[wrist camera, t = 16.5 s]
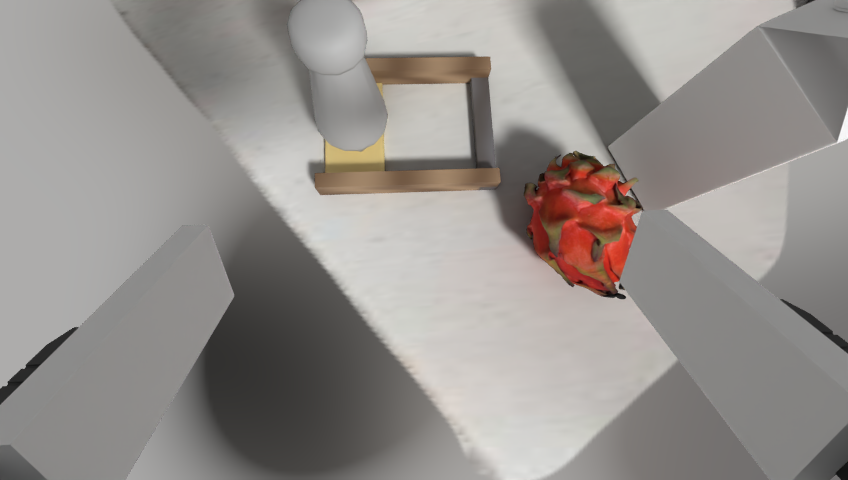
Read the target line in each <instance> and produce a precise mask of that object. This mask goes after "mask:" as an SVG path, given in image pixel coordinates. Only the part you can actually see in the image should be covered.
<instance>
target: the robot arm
mask: <svg viewBox="0 0 848 480" xmlns="http://www.w3.org/2000/svg"><path fill="white" fill-rule="evenodd" d="M812 1H815V0H809V2H808V3H810V2H812ZM619 282H620V283H621V285H622V286H623V287H624V289H625V290H626V291H627V293H628V294H629V295H630V297H631V298H632V299H633V301H634V302H635V303H636V305H637V306H638V307H639V308H640V310H641V311H642V312H643V314H644V315H645V316H646V318H647V319H648V320H649V322H650V323H651V324H652V326H653V327H654V328H655V330H656V331H657V332H658V333H659V335H660V336H661V337H662V339H663V340H664V341H665V343H666V344H667V345H668V347H669V348H670V349H671V351H672V352H673V353H674V355H675V356H676V357H677V358H678V360H679V361H680V362H681V364H682V365H683V366H684V368H685V369H686V370H687V372H688V373H689V374H690V376H691V377H692V378H693V380H694V381H695V382H696V383H697V385H698V386H699V387H700V389H701V390H702V391H703V393H704V394H705V395H706V397H707V398H708V399H709V401H710V402H711V403H712V404H713V406H714V407H715V408H716V410H717V411H718V412H719V414H720V415H721V416H722V418H723V419H724V420H725V422H726V423H727V424H728V426H729V427H730V428H731V430H732V431H733V432H734V433H735V435H736V436H737V437H738V439H739V440H740V441H741V443H742V444H743V445H744V446H745V448H746V449H747V451H748V452H749V453H750V455H751V456H752V457H753V459H754V460H755V461H756V462H757V464H758V465H759V466H760V468H761V469H762V470H763V472H764V473H765V474H766V476H767V477H768V478H769V479H770V480H830V479H831V478H833V477H834V476H835V475H837V476H838V477H839V478H840V479H841V480H848V343H847V342H845V340H843V339H842V338H840V337H839V336H838V335H833V333H832V332H833V331H832V330H830V329H829V328H828V327H826V326H825V325H824V324H823V323H821V322H820V321H818V320H817V319H816V318H815V317H814V316H812V315H811V314H809V313H807V312H806V311H804V310H802V309H800V308H798V307H796V306H794V305H792V304H790V303H788V302H787V301H784V300H783V299H778V298H777V297H776V296H775V295H773V294H772V293H771V292H770V291H768V290H767V289H766V288H765V287H763V286H762V285H761V284H759V283H758V282H757V281H756V280H754V279H753V278H752V277H751V276H749V275H748V274H747V273H746V272H744V271H743V270H742V269H741V268H739V267H738V266H737V265H736V264H734V263H733V262H732V261H731V260H729V259H728V258H727V257H726V256H724V255H723V254H722V253H721V252H719V251H718V250H717V249H716V248H714V247H713V246H712V245H711V244H709V243H708V242H707V241H706V240H704V239H703V238H702V237H700V236H699V235H698V234H697V233H695V232H694V231H693V230H692V229H690V228H689V227H688V226H687V225H685V224H684V223H683V222H682V221H680V220H679V219H678V218H677V217H675V216H674V215H673V214H672V213H670V212H669V211H668V210H647V211H642V213H641V216H640V219H639V223H638V226H637V229H636V232H635V235H634V238H633V241H632V244H631V247H630V250H629V253H628V256H627V259H626V262H625V265H624V269H623V272H622V275H621V278H620V281H619ZM233 297H234V293H233V291H232V288H231V285H230V282H229V280H228V277H227V274H226V272H225V269H224V266H223V263H222V261H221V258H220V255H219V252H218V250H217V247H216V244H215V242H214V240H213V236H212V234H211V231H210V228H209V225H184V226H181V227H180V228H179V229H178V230H177V231H176V232H175V233H174V234H173V235H172V236H171V237H170V238H169V239H168V240H167V241H166V242H165V243H164V244H163V245H162V246H161V247H160V248H159V249H158V250H157V251H156V252H155V253H154V254H153V255H152V256H151V257H150V258H149V259H148V260H147V261H146V262H145V263H144V264H143V265H142V266H141V267H140V268H139V269H138V270H137V271H136V272H135V273H134V274H133V275H132V276H131V277H130V278H129V279H127V280H126V281H125V282H124V283H123V284H122V285H121V286H120V287H119V288H118V289H117V290H116V291H115V292H114V293H113V294H112V295H111V296H110V297H109V298H108V299H107V300H106V301H105V302H104V303H103V304H102V305H101V306H100V307H99V308H98V309H97V310H96V311H95V312H94V313H93V314H92V315H91V316H90V317H89V318H88V319H87V320H86V321H85V322H84V323H83V324H82V325H81V326H80V327H74V328H72V329H71V330H69V331H68V332H66V333H65V334H63V335H61V336H60V337H58V338H57V339H55V340H54V341H52V342H51V343H49V344H47V345H46V346H45V347H44V348H43V349H42V350H41V351H40V352H39V353H38V354H37V355H36V356H35V357H33V358H32V360H30V361H29V362H28V363H27V364H26V368H25V369H21V370H20V371H19V372H18V373H17V374H16V375H14V376H13V377H12V378H11V379H10V380H9V381H8V385H7V386H3V387H2V388H1V389H0V480H126V478H127V476H128V474H129V473H130V471H131V469H132V468H133V466H134V464H135V463H136V461H137V459H138V458H139V456H140V454H141V452H142V451H143V449H144V447H145V446H146V444H147V442H148V441H149V439H150V437H151V436H152V434H153V432H154V431H155V429H156V427H157V425H158V424H159V422H160V420H161V419H162V417H163V415H164V414H165V412H166V410H167V409H168V407H169V405H170V404H171V402H172V400H173V399H174V397H175V395H176V394H177V392H178V390H179V388H180V387H181V385H182V383H183V382H184V380H185V378H186V377H187V375H188V373H189V372H190V370H191V368H192V366H193V365H194V363H195V361H196V360H197V358H198V356H199V355H200V353H201V351H202V350H203V348H204V346H205V345H206V343H207V341H208V340H209V338H210V336H211V334H212V333H213V331H214V329H215V328H216V326H217V324H218V322H219V321H220V319H221V318H222V316H223V314H224V312H225V311H226V309H227V307H228V306H229V304H230V302H231V301H232V299H233Z"/></svg>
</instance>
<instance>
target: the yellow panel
mask: <svg viewBox="0 0 848 480" xmlns="http://www.w3.org/2000/svg"><path fill="white" fill-rule="evenodd" d="M376 84H377V86H378V88H379V91H380V93H381V95H382V97H383V92H382V83H376ZM374 171H385V160H384V133H383V135H382V136H381V137H380V138H379V139H378V141H377V142H376V143H375V144H374V145H372V146H370V147H367V148H366V149H365V150H363V151H362V152H359V151H344V150H341V149H339V148H336V147H334V146H332V145H330V144H329V143H328V142H327V141H326V140H325V173H339V172H374Z"/></svg>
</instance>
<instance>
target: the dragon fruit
mask: <svg viewBox="0 0 848 480" xmlns="http://www.w3.org/2000/svg"><path fill="white" fill-rule="evenodd" d="M573 155H574V156H573ZM559 156H561V155H559ZM559 156H558V157H559ZM558 157H555V158H554V159H553V160H552V161H551V162H550V163H549V165H548V168H547V171H546V172H545V173H542V174H540V176H539V180H538V187H539V188H538V190H536V188H537V186H536V185H535V184H533V183H527V184H525V191H524V197H525V198H526V200H527V203H528V204H529V205H531V206H532V208H533V210H534V212H533V216H532V219H531V222H530V223H529V225H528V226H527V234H528V236H529V237H530V238H531V239H532V238H533V244H534V249H535V251H536V253H537V254H538V255H539V256H540V258H542V259H543V260H544V261H545V262H547V263H548V265H550V266H551V267H552V268H553V269H554V270H555V271H556V272H557V273H558V274H560V275H561V276H562V277H563V279H564V280H565V281H566V282H567V283H568V284H569V285H570V286H572V287H573V286H574V284H576V285H579V286H582V287H585V288H587V289H589V290H591V291H593V292H594V293H596V294H598V295H600V296H603V297H610V298H614V297H617V298H619V299H625V298H626V296H624V295H623V294H620V293H618V290H617V289H616V288H615V286H616V285H615V284H614V282H618V281H620V278H621V275H622V272H623V269H624V265H625V262H626V259H627V256H628V253H629V249H630V247H631V244H632V241H633V238H634V235H635V232H636V229H637V227H636V226H635V225H634V223H633V220H632V217H631V216H632V215H633V214H636V213H638V212H640V210H641V209H642V207H641V205H639V203H638V201H636V200H634V199H633V198H631V197H629V196H625V195H626V193H627V192H628V190H629V189H630V188H631V187H632V186H633V185H634V184H635V183H636V182H638V181H639V180H638V179H637V178H635V177H634V178H632V179H630V180H629V181H627V182H626V183H622V182H620V181H618V180H619V178H620V174H619V172H618V171H617V170H616V169H615V164H609V165H607V166H603V165H602V164H601V163H600V162H599V161H598V160H597V159H596V158H595V157H594V156H587V155H584V154H582V153H579V152H577V151H574V152H573V154H572V153H569V154H567V155H565V156H564V157H563V159H562V165H561V167H560V166H558V165H557V164H556V159H557V158H558ZM619 289H622V290H625V289H624V287H623V286H622V285H621V283H620V284H619Z"/></svg>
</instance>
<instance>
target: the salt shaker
mask: <svg viewBox="0 0 848 480" xmlns="http://www.w3.org/2000/svg"><path fill="white" fill-rule="evenodd" d="M287 27H288V32H289V36H290V40H291V45H292V48H293V50H294V52H295V54H296V55H297V56H298V58H299V59H300V60H301V61H302V62H303V63H304V65H305V66H306V67H307V68H308V69H309V75H310V84H311V92H312V101H313V109H314V117H315V121H316V125H317V128H318V131H319V132H320V134H321V135H322V136H323V137H324V138H325V140H326V141H327V142H328V143H329V144H330V145H332V146H334V147H336V148H339V149H341V150H344V151H359V152H362V151H363V150H365V149H366V148H367V147H370V146H372V145H374V144H375V143H376V142H377V141H378V139H379V138H380V137H381V136H382V135H383V133H384V131H385V127H386V122H387V117H388V114H387V110H386V106H385V103H384V100H383V97H382V95H381V93H380V91H379V88H378V86H377V84H376V82H375V79H374V77H373V75H372V73H371V70H370V68H369V66H368V64H367V61H366V59H365V57H364V53H365V49H366V45H367V31H366V28H365V24H364V20H363V17H362V14H361V12H360V9H359V8H358V7H357V6H356V5H355V4H354V3H353V2H352V1H351V0H300V1H299V2H298V3H297V4H296V5H295V6H294V8H293V9H292V10H291V13H290V16H289V19H288V23H287Z"/></svg>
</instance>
